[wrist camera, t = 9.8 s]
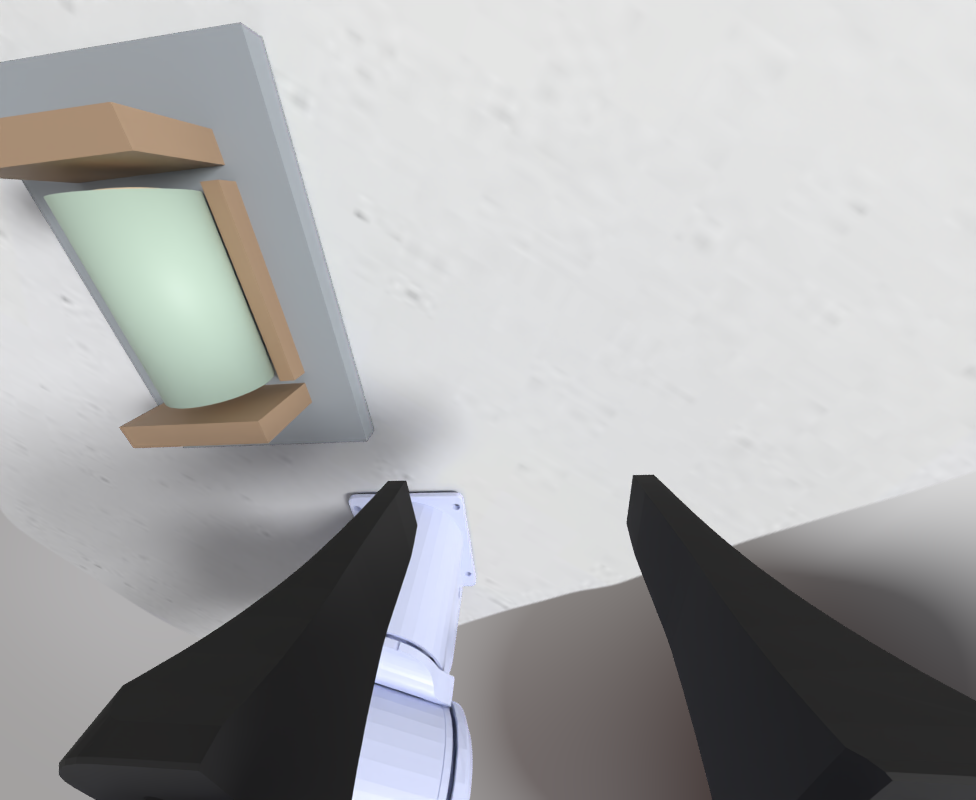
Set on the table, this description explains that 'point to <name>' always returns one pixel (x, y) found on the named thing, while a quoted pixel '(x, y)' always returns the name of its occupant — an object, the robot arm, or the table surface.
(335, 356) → the holder
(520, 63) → the table surface
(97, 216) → the roll
